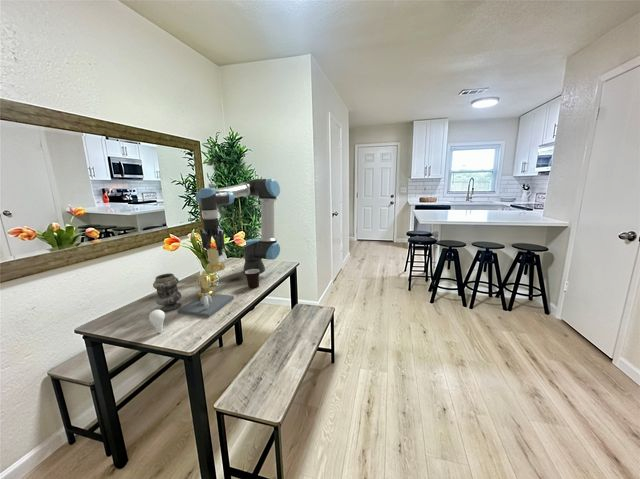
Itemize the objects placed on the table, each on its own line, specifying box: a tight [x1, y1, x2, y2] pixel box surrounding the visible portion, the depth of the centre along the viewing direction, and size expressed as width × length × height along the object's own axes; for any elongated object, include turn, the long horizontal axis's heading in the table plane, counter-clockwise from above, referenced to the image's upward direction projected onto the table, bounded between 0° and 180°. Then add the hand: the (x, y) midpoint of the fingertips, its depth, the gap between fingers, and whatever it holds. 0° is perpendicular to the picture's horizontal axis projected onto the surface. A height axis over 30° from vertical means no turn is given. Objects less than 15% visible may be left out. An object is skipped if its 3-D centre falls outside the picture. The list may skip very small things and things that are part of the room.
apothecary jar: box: [152, 272, 182, 313], centre depth 144 cm, size 12×12×18 cm
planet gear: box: [206, 246, 226, 273], centre depth 147 cm, size 9×9×12 cm
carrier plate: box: [176, 293, 235, 319], centre depth 145 cm, size 21×19×9 cm
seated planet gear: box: [196, 274, 216, 300], centre depth 152 cm, size 9×9×12 cm
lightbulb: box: [148, 309, 166, 334], centre depth 121 cm, size 6×6×11 cm
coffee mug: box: [244, 269, 260, 290], centre depth 170 cm, size 12×9×10 cm
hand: (215, 261), depth 147 cm, fingers closed on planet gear, 5 cm apart
